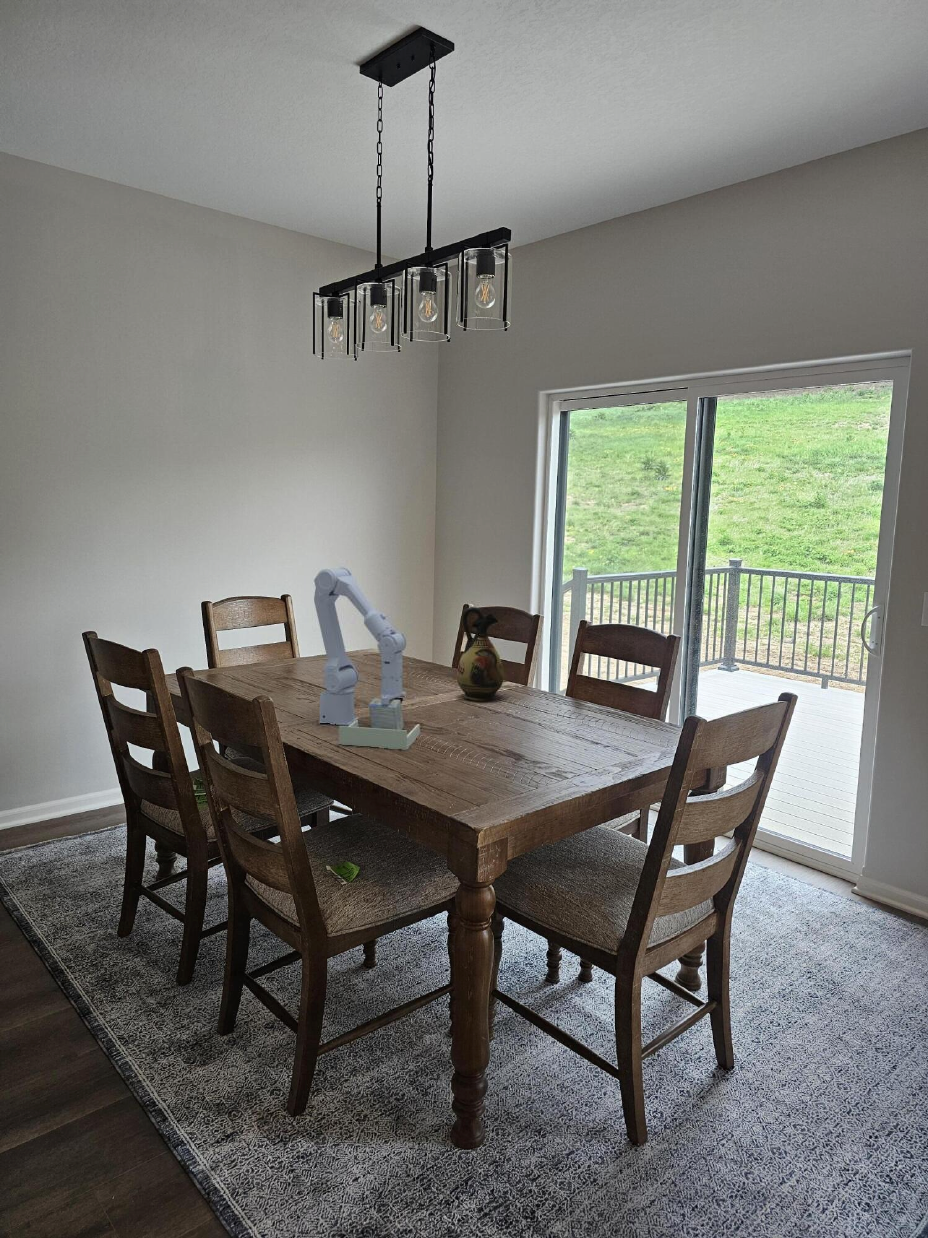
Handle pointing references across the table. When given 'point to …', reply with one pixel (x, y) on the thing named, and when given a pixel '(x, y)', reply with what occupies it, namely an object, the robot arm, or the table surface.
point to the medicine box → (386, 714)
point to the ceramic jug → (480, 660)
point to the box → (377, 736)
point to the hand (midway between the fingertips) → (391, 724)
